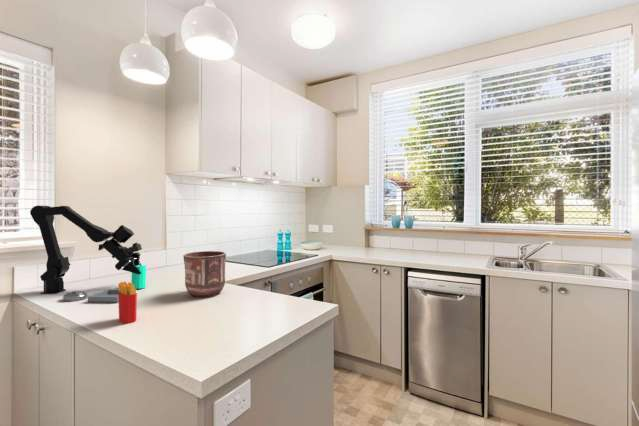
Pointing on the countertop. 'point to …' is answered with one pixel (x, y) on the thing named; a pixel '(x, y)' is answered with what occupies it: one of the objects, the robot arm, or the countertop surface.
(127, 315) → the french fries
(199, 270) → the pottery
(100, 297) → the tray
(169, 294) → the countertop surface
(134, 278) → the candle
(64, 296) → the pulley
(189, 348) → the countertop surface
